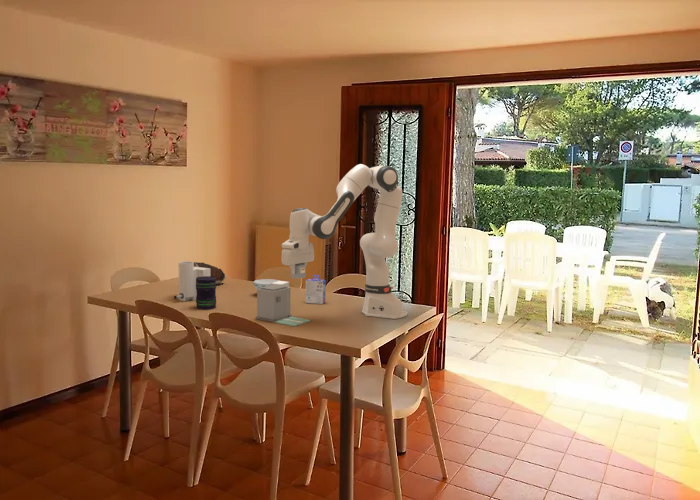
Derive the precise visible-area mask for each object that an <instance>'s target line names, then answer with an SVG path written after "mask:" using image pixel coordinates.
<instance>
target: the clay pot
mask: <svg viewBox="0 0 700 500" xmlns="http://www.w3.org/2000/svg"><path fill="white" fill-rule="evenodd" d="M193 262H194V267H201V268H210V275H211V277H216V285H217V284H221V283H222V282H224V281H225V279H226V275H225V273H224V271H223V270H222V269H221V268H219V267H217V266H214V265H211V264H208V263H205V262H195V261H193Z"/></svg>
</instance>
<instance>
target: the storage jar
mask: <svg viewBox="0 0 700 500" xmlns="http://www.w3.org/2000/svg"><path fill="white" fill-rule="evenodd" d="M216 289H217V284H216V277H211V276H203V277H197V278H196V290H197V297H196V300H195V306H196V307H195V308H196V309H197V310H200V309H201V310H202V311H210V310H214V309H217V296H216V295H217V294H216Z"/></svg>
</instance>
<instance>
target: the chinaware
mask: <svg viewBox="0 0 700 500" xmlns="http://www.w3.org/2000/svg"><path fill="white" fill-rule="evenodd" d="M277 281H281V280H279V279H274V278H273V279H272V278H271V279H270V278H266V279H265V278H264V279H263V278H262V279H256V280H254V281H253V286H254V288H255V289H256V291H257V289H259V288H261V287H265V286H270V285H271V283H273V282H277Z"/></svg>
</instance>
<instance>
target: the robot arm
mask: <svg viewBox="0 0 700 500" xmlns="http://www.w3.org/2000/svg"><path fill="white" fill-rule="evenodd" d="M367 187H369V188H371V189H377V190H379V198H378V202H377V205H376V209H375V213H374V216H373V221H374V225H375V226H374V227H375V228H374V229H375V232H369V233H368V232H367V233H366V234H363V235H362V237H361V238H360V239H359V247H360V248H361V250H362V252H363V256H364V257H363V258H364V262H365V270H366V271H365V273H366V277H365V281H366V282H365V285H364V294H365V296H364V302H363V307H362V310H361V313H362V314H364V315H365V316H366V317H367V316H368V317H375V318H376V317H377V318H384V319H392V320H395V319H401V318H404V317H407V316H408V315H409V314H408V311H404V307H403V305H404V304H403V302H402V301H401V299H399V298H398V297H397V295H395V294H393V292H392V290H394V286H391V285H390V284H389V283H390V282H389V281H390V279H389V278H390V269H389V266H388V264H387V262H386V259H388V258H392V257H394V256H395V255H396V254H397V252H398V250H399V248H398V247H399V243H398V241H397V237H396V228H397V227H396V226H397V222H398V217H399V214H400V210H401V206H402V205H401V204H402V200H403V189H402V188H401V187H400V186H399V174H398V171H397V170H396V169H395V168H394V167H393V166H390V165H378V166H371V167H369V166H367V165H365V164H362V163H359V164H356V165H355V166H354V167H352V168H351V169H350V170H349V171H348V172H347V173H346V174H345V175H344V176H343V177H342V179H340V181H339V183H337V186H336V189H335V190H336V195H337V199H336V202H335V203H334V204H333V205H332V206H331V208H330V209H329V211H328V212H327V213H326V214H325V215H319V214H316V213H314V212H312V211H311V210H309V209H308V208H306V207H299V208H294V209H293V210H292V211H291V212H290V216H289V238H288V239H287V240H285V241H284V242H283V243H281V248H282V250H281V264H282V265H284V266H289V268H290V274H291V273H292V274H296V270H295V264H300V263H301V264H304V265H306V266H307V265H308V263H310V262H314V260H315V249H314V245H313V243H312V242H311V241H309V238H310V237H309V236H310V235H312V236H314V237H317V238H319V239H321V240H328V239H330V238H331V237H333V236H334V234H335V232H336V230H337V226H338V224H339V222H341V220H342V218H343V217H344V215H345V214H346V213H347V211H348V210H349V209H350V208H351V206H352V205H353V203H354V202H355V201H356V199H357V198H358V197H359V196H360V195H361V194H362V193H363V191H364V190H365V189H366V188H367Z"/></svg>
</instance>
